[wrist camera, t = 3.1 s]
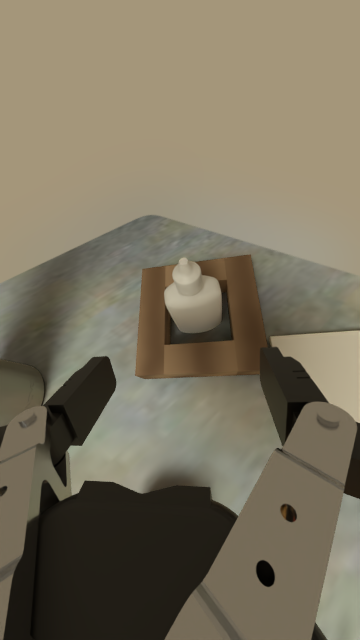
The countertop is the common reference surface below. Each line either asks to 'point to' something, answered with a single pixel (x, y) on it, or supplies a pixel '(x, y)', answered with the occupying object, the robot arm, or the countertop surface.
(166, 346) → the walnut socket stand
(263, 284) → the countertop surface
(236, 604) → the robot arm
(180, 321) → the eye dropper bottle
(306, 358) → the off-white tile
